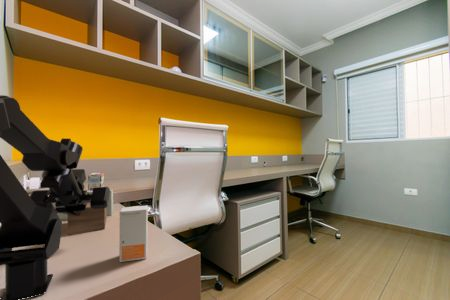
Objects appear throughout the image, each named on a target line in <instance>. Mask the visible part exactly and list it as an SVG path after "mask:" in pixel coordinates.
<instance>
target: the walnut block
mask: <svg viewBox="0 0 450 300" xmlns="http://www.w3.org/2000/svg"><path fill="white" fill-rule="evenodd" d="M107 218H108V216H107V207H106V208H101V209H93V208H91V206H90V203H87V206H86V209H85V210H84V211H81V214H80V216H75V215H70V214H68V219H67V236H70V235H77V234H83V233H89V232H95V231H96V232H97V231H105V228H106V224H107Z"/></svg>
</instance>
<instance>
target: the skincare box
mask: <svg viewBox="0 0 450 300" xmlns="http://www.w3.org/2000/svg"><path fill="white" fill-rule="evenodd" d="M148 212H149V206H148V205H135V206H134V205H133V206H124V207H122V208H121V209H120V211H119V263H123V262H124V263H125V262H132V261H139V260H146V259H147V255H148V251H149V250H148V247H149V245H148V243H149V242H148V240H149V239H148V238H149V237H148V234H149V233H148V226H149V225H148V224H149V223H148V219H149V217H148V216H149V215H148V214H149V213H148ZM145 258H146V259H145Z"/></svg>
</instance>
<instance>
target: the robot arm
mask: <svg viewBox="0 0 450 300" xmlns="http://www.w3.org/2000/svg"><path fill="white" fill-rule="evenodd" d="M0 139H1V140H3V141H4V142H6V143H7V144H8V145H10V146H11V147H13V148H14V149H15V150H17V151H18V152H19V153H20V154H21V155H22V158H21V162H22V163H23V165H24V166H25V167H26V168H27V169H28V170H30V171H31V172H42V173H41V177H42V178H41V179H42V180H41V181H40V183H39V184H40V185H39V187H40V188H41V189H36V190H33V191H32V192H31V193H30V195H29V193H28V192H27V190H26V189H25V187H24V186H23V185H22V183H21V182H20V180H19V179H18V178H17V176H16V175H15V173H14V172H13V171H12V169H11V167H9V165H8V163H7V162H6V161H5V159H4V158H3V156H2V155H1V154H0V266H3V265H4V266H5V267H4V268H5V272H4V273H5V278H4V279H5V289H4V291H3V293H2V294H1V295H0V298H1V299H0V300H18V299H22V298H27V297H31V296H35V295H39V294H43V293H44V292H46V293H47V291H48V289H49V287H50V285H51V281H52V279H53V278H52V277H54V274H53V273H50V274H48V260H49V259H50V258H51V257H53V255H54V254H55V253H56V252H58V250H59V249H60V246H61V238H62V232H63V230H62V229H63V220H61V219H59V216H58V215H57V213H64V214H70V215H75V216H80V214H81V211H84V210H85V209H86V206H87V203H90V206H91V208H93V209H101V208H106V207H107V206H108V201H109V196H110V190H111V189H110V187H109V186H104V187H94V188H93V192H92V194H89V193H88V192H87V191H88V189H86V190H85V184H84V183H85V181H86V180H87V176H86V171H85V169H84V168H78V169H77V167H78V165H79V162H80V160H81V156H82V153H83V151H84V149H83V147H82V146H81V145H80V144H79V143H78V142H75V141H72V139H71V138H61V140H60V141H57V140H54V139H50V138H48V137H47V135H45V134H44V133H43V132H42V130H40V128H39V127H38V126H37V125H35V123H34V122H33V121H32V120H31V119H30V118H29V117H28V116H27V115H26V114H25V113H24V111H22V110H21V106H20V104H19V101H18V100H17V99H15V98H14V97H10V96H9V95H3V94H2V95H1V94H0ZM47 188H48V189H47ZM52 203H54V204H52ZM42 245H43V246H42ZM34 246H40V247H34ZM41 246H42V247H41ZM25 247H26V248H25ZM27 247H30V248H27ZM31 247H33V248H31ZM16 248H24V249H16ZM13 249H14V250H13ZM15 249H16V250H15ZM43 295H44V294H43ZM39 296H40V295H39ZM35 297H36V296H35ZM31 298H32V297H31Z"/></svg>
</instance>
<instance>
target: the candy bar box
mask: <svg viewBox="0 0 450 300" xmlns="http://www.w3.org/2000/svg"><path fill="white" fill-rule="evenodd" d="M87 179H88V180H87V181H88V182H87V185H88V186H87V187H88V188H87V191H93V188H94V187H105V172H92V173H89V175H88V178H87Z"/></svg>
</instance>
